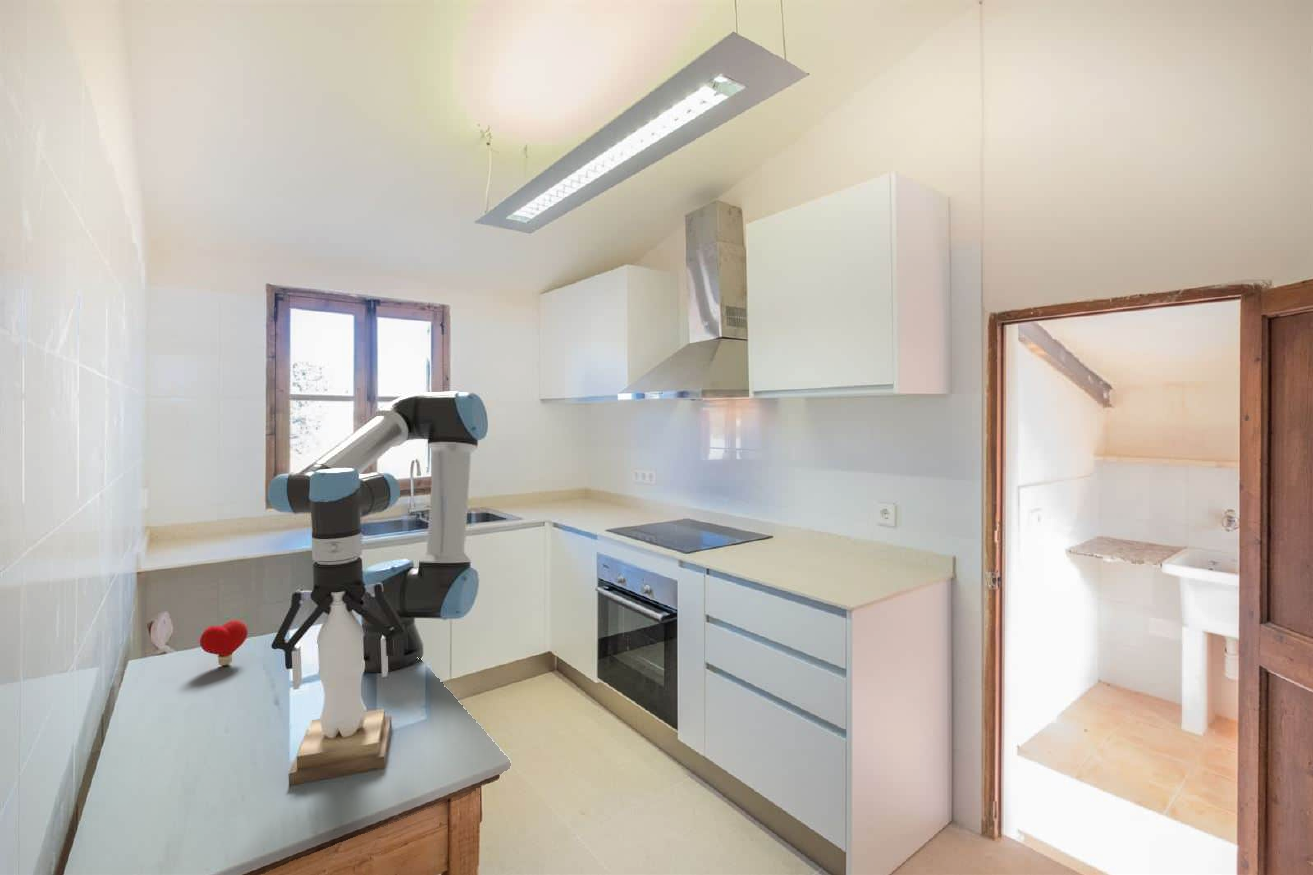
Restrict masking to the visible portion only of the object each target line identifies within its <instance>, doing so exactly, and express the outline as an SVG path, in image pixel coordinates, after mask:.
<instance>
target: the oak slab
mask: <svg viewBox="0 0 1313 875" xmlns="http://www.w3.org/2000/svg"><path fill="white" fill-rule="evenodd" d="M385 717H386V711H385V708H380V709H375V710H374V709H373V710H368V711H367V710H366V718H365V721H364V724H363V726H362V727H361V728H360V729H357V730H356V732H355V733H354V734H353V735H351V736H349V737H343V736H342V735H341V733H340V731H339V732H338V733H337V735H336V737H335V738H329V737H327V736H326V735H325V734H324V732H323V730H322V728H321V724H320V718H316V719H312V720H311V722H310V725H309V726H308V728H307V729H308V731H307V730H306V731H307V733H306V732H305V734H306V736H305V735H304V736H305V738H304V737H303V738H304V740H303V739H302V741H303V743H302V742H301V743H302V745H301V744H300V745H301V748H300V747H299V748H300V750H299V749H298V750H299V752H298V751H297V752H298V755H297V754H296V755H297V769H298V768H304V767H309V766H315V765H320V764H326V763H331V762H337V761H343V760H348V759H354V758H359V757H365V756H371V755H376V754H378V753H379V748H380V742H381V737H382V732H383V727H384V722H385Z"/></svg>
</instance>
